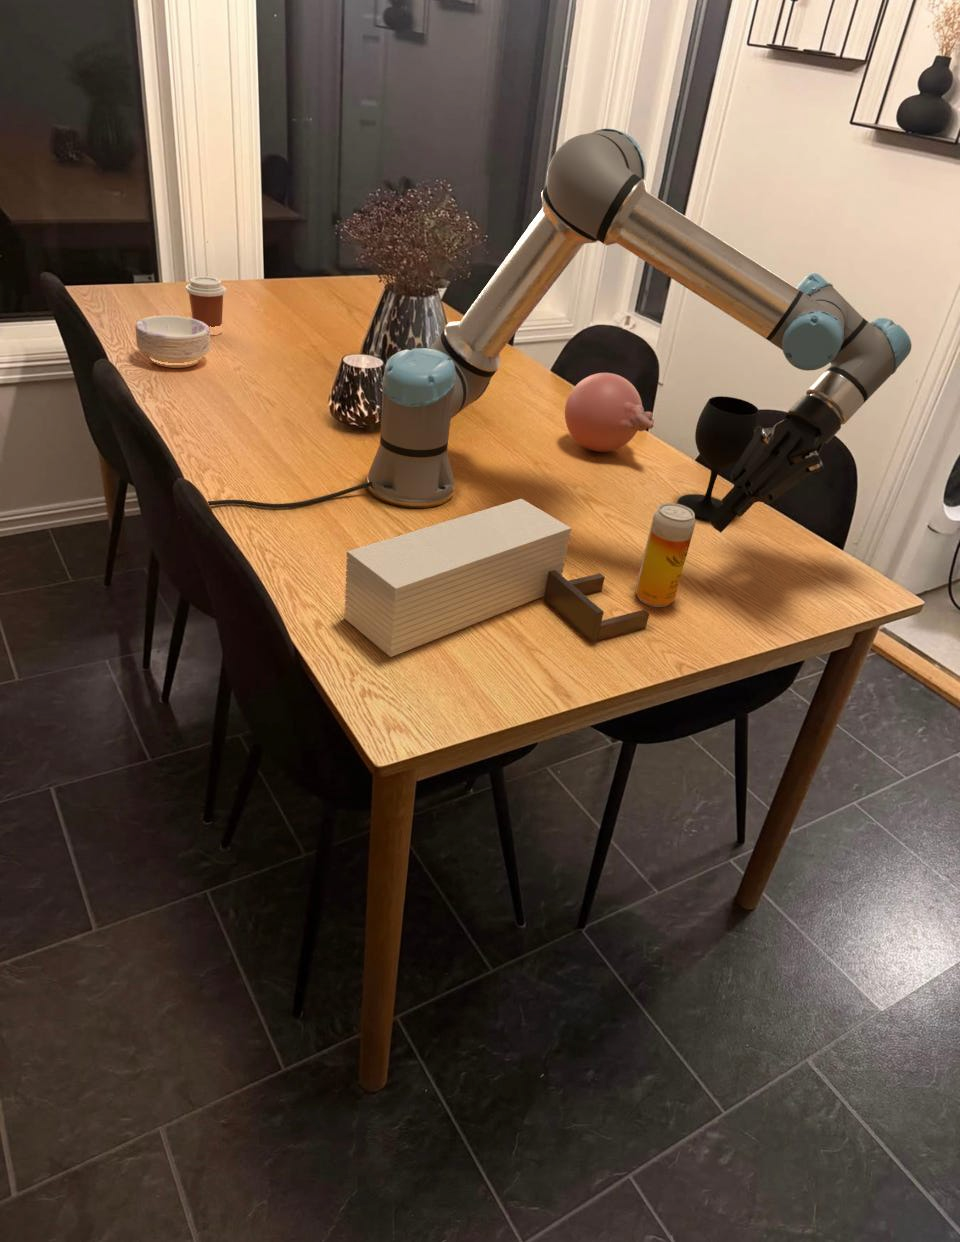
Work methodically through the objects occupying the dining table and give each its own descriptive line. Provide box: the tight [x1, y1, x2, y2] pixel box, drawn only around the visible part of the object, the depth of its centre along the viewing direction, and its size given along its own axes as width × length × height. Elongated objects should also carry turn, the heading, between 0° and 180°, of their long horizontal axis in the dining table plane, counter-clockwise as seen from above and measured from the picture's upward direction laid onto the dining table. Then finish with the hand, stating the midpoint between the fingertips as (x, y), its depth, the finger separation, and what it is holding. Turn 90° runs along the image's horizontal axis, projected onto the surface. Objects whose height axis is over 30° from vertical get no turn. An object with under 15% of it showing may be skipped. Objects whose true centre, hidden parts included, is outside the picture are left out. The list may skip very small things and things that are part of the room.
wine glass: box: [676, 395, 760, 523], centre depth 165 cm, size 10×10×20 cm
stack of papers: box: [343, 498, 572, 658], centre depth 131 cm, size 32×11×11 cm, turn 131°
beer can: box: [635, 502, 697, 608], centre depth 137 cm, size 6×6×15 cm
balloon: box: [564, 372, 655, 453], centre depth 183 cm, size 15×20×15 cm
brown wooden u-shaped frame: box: [543, 570, 650, 643], centre depth 135 cm, size 10×12×5 cm
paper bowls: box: [135, 315, 211, 369], centre depth 200 cm, size 15×15×8 cm
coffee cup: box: [185, 275, 227, 327], centre depth 217 cm, size 9×9×12 cm
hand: (714, 525), depth 140 cm, fingers closed
